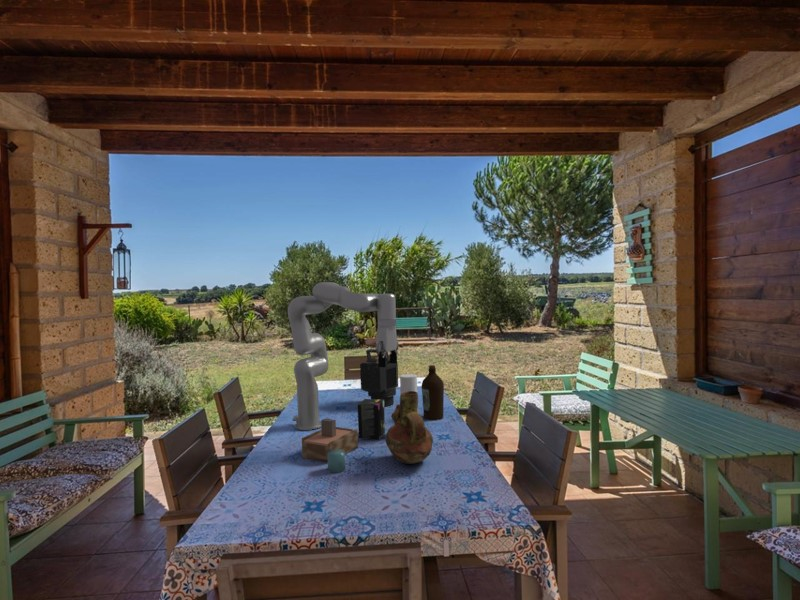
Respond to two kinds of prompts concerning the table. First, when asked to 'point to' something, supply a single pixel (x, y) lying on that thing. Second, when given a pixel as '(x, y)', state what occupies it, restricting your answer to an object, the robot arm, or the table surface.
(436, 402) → the dark brown bottle
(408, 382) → the cylindrical container
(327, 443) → the brown piece
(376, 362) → the lantern
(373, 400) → the tampon box
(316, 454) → the box
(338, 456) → the teal rounded piece
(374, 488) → the table surface
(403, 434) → the ceramic vessel
